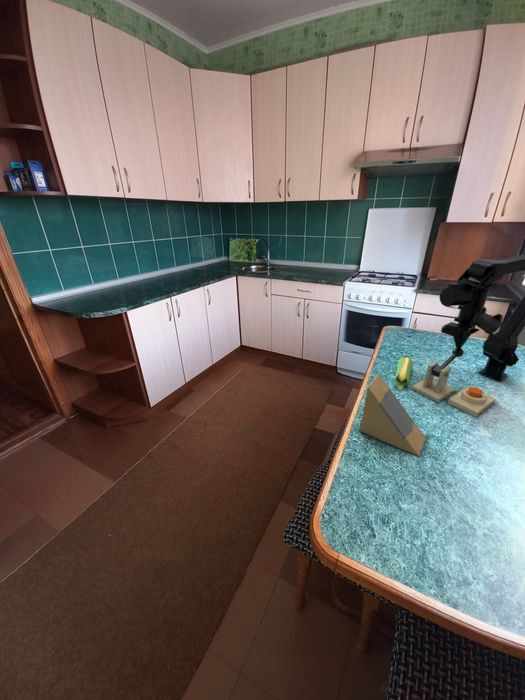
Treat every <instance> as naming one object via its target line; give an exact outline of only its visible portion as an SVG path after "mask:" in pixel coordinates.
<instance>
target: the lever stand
mask: <svg viewBox="0 0 525 700" xmlns="http://www.w3.org/2000/svg"><path fill="white" fill-rule="evenodd" d="M437 365H439V361H434V362H432V363H430V364H428V365H427V369H426V372H425V376H424V379H422V380H420V381H418V382H417V383H414V384H413V385H412V386H411V390H413V391H415V392H417V393H419V394H420V395H423V396H425V397H426V398H428V399H431V400H432V401H435V402H437V403H439V402H441V401H442V400H444V399H445V398H447V397H448V396H450V395H451V394H452V393H454V392H455V390H456V388H455V387H453V386H450V385H448V384H447V382H448V379H449V376H450V373H451V369H452V367H450V366H447V367H445V368H444V369H443V370H441V372H440V375H439V377H437V378H438V379H435V376H434V375H432V372H433V369H434V368H435V367H436V366H437Z"/></svg>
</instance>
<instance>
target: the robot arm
mask: <svg viewBox="0 0 525 700" xmlns="http://www.w3.org/2000/svg"><path fill="white" fill-rule="evenodd" d="M523 271H525V254H521V255H515V256H511V257H506V258H502V259H476V260H474V261H472V262H471V264H470V265H469V266H468V267H467V268H466V269H465V271H463V273H462V274H461V275H460V276H459V277H458V278H457V279H456V282H449V283H448V284H447V287H445V288H443V289H442V290H441V292H440V293H439V301H440V302H439V303H440V304H441V305H442V306H444V307H457V310H459V312H458V314H457V316H456V317H454V319H453V321H451V322H448V323H446V324H444V325H442V326H441V330H440V333H442V334H444V335H447V336H451V337H453V340H454V345H455V348H457V349H463V346H464V344H465V343H466V342H467V341H468V340H469V338H470V337H471V336H472V335H473V334H476V333H477V332H479V331H480V330H482V331H483V332H484V334H487V335H488V336H487V337H486V339H485V341H484V342H483V345H482V355H483V356H485V357H487V361H486V363H485V366H484V368H483V369H481V370H480V371H479V372H478V373H479V374H480V375H482V376H483V375H484V376H485V377H488V378H490V379H493V380H495V381H498V382H499V381H502V379H504V378H505V377H507V376H508V373H505V372H506V370H507V367H514V366H515V365H517V363H518V362H519V361H520V360H519V357H518V356H517V353H516V351H517V349H518V348H519V341H518V339H519V338H518V337H519V336H520V334H521V333H522V332H523V330H524V329H525V294H524V295H523V297H522V298H521V299H520V301H519V302H518V304H517V305H516V307H515V308H514V310H513V311H512V313H511V314H510V316H509V317H508V318H507V320H506V322H505V324H503V323H504V315H502V314H500V313H497V314H494V315H492V314H488V313H487V311H488V309H487V307H486V306H485V305H486V302H487V299H488V296H489V293H490V290H496V289H497V286H496V284H495V283H496V282H497V281H500V280H502V279H503V278H504V276H506V275H511V274H515V273H519V272H523ZM476 327H477V328H476ZM499 328H501V329H500V330H499Z"/></svg>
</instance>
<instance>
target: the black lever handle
mask: <svg viewBox="0 0 525 700" xmlns="http://www.w3.org/2000/svg"><path fill="white" fill-rule="evenodd" d="M451 353H452V354H451V355H450V356H449V357H448V358H447V359H446V360H445V361H444V362H443V363H442V364H440V365H439V364H438V365H437V366H436V367H435V368H434V369H433V372H432V375H434V377H437V378H439V375H440V372H441V370H443V369H445V368H446V367H449V365H450V364H451V363H452V362H453V361H454V360H455V359H456V358H460V357H462V356H464V349H463V348H461V349H457V348H456V347H455V348H453V349H452V352H451Z"/></svg>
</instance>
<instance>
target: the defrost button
mask: <svg viewBox="0 0 525 700" xmlns="http://www.w3.org/2000/svg"><path fill="white" fill-rule="evenodd" d="M468 387H469V389H468V392H467V394H468V395H469V396H472V397H475V398H481V396H482V393H484V391H483V390H482V389H481V388H479V387H476V386H468Z"/></svg>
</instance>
